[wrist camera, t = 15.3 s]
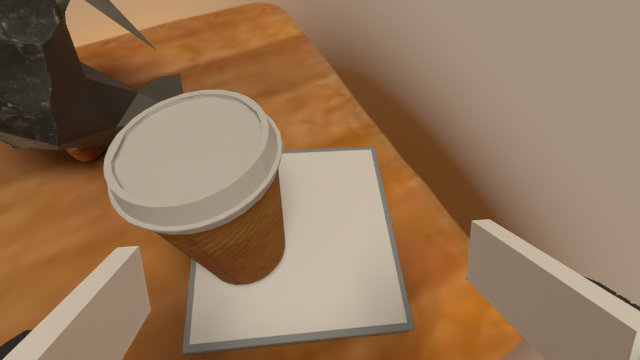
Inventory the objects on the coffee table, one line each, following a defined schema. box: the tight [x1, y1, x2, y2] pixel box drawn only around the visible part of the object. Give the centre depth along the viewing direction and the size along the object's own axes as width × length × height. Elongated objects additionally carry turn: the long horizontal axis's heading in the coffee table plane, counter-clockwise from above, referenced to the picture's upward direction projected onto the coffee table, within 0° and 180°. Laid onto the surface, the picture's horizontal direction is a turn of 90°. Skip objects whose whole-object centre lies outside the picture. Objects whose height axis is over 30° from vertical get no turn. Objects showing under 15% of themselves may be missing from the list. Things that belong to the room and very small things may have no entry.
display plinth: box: [182, 146, 414, 355], centre depth 30 cm, size 17×17×2 cm
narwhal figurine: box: [0, 0, 183, 162], centre depth 28 cm, size 14×15×18 cm
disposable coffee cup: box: [103, 90, 285, 285], centre depth 22 cm, size 10×10×12 cm
